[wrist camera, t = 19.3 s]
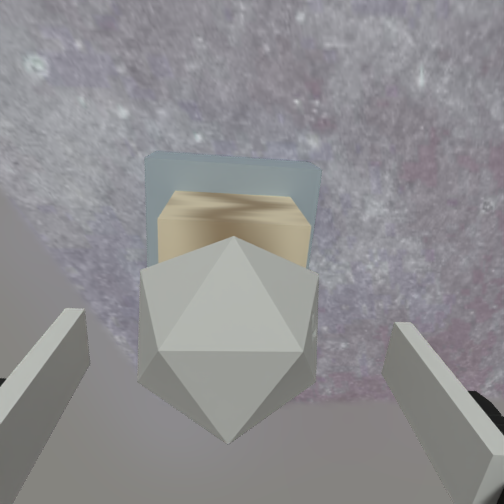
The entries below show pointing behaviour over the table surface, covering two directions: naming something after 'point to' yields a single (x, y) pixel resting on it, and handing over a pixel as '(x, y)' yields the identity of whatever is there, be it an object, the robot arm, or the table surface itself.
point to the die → (227, 334)
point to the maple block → (232, 224)
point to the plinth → (226, 184)
